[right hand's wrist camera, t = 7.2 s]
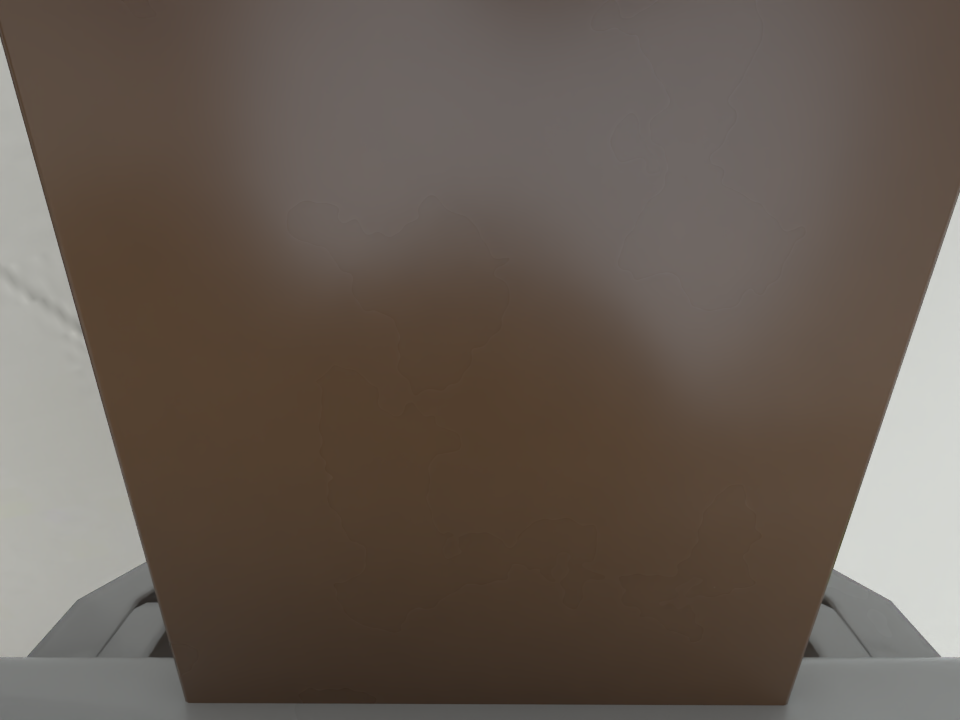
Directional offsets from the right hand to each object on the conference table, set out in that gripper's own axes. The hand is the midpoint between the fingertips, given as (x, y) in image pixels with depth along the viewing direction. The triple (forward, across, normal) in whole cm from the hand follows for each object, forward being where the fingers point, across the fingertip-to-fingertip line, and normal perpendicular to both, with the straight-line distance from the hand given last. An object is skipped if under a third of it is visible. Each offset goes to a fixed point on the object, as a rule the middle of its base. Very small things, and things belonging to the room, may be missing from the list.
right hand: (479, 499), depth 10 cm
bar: (+4, 0, -9) cm, 9 cm away
